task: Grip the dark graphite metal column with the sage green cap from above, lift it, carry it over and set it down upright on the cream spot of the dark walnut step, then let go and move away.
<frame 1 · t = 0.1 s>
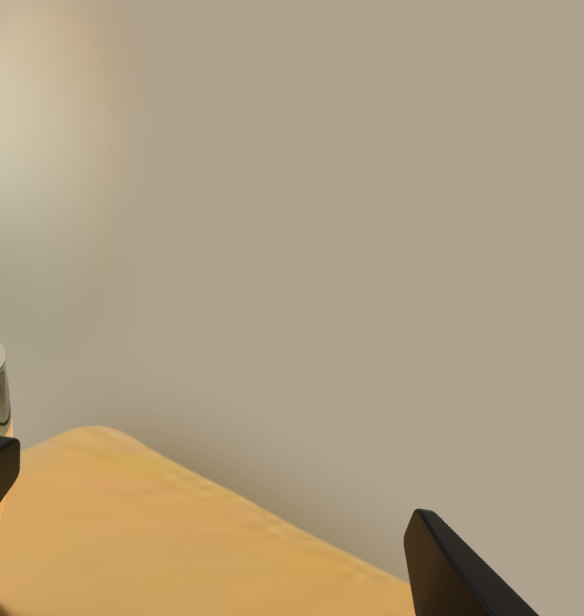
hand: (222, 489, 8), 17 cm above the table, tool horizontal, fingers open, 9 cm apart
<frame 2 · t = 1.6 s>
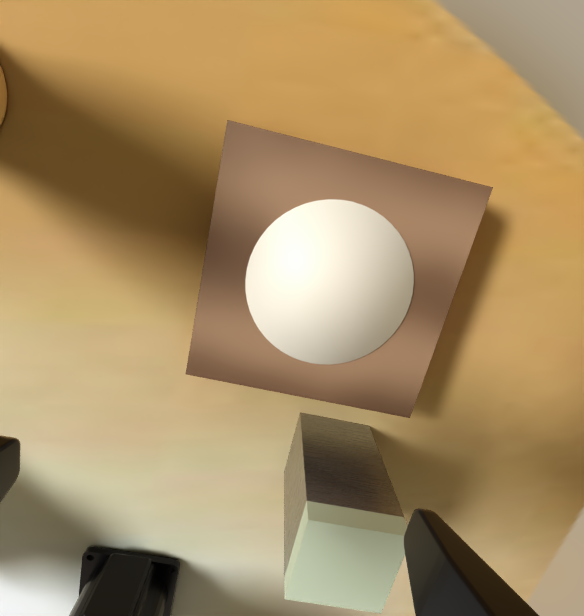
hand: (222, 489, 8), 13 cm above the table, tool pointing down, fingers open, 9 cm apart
walnut step: (323, 274, 20), on the table
metal column: (326, 449, 23), on the table
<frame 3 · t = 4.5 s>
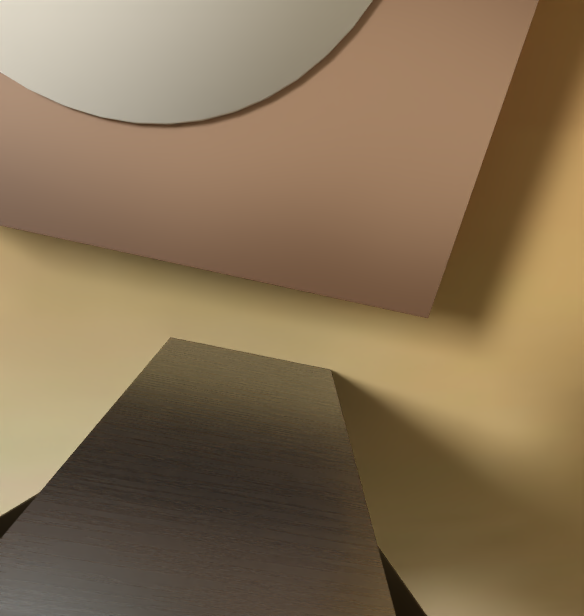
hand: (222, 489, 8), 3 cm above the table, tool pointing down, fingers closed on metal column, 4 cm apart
metal column: (237, 423, 11), on the table, touching gripper
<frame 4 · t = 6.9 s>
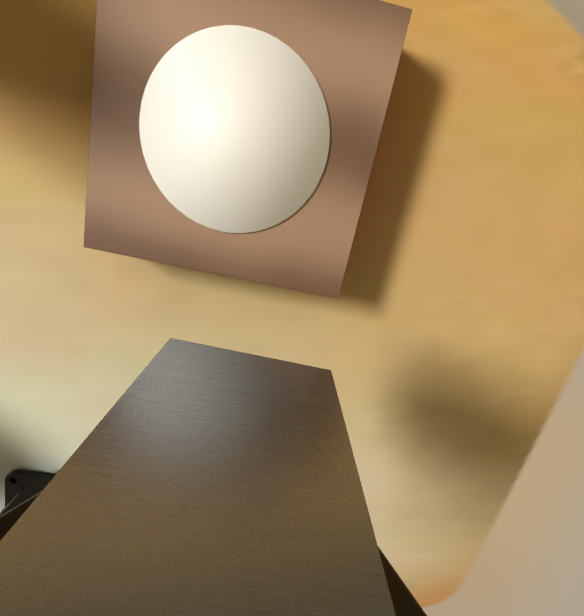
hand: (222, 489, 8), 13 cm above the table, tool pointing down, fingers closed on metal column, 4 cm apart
walnut step: (243, 147, 18), on the table
metal column: (237, 423, 11), point 11 cm above the table, touching gripper
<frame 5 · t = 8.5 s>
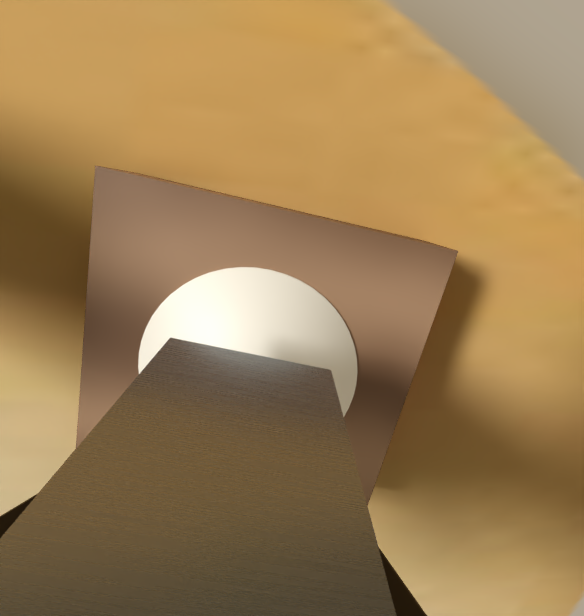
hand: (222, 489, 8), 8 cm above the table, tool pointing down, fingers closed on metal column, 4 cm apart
walnut step: (255, 343, 16), on the table
metal column: (237, 423, 11), point 6 cm above the table, touching gripper
when the fingers open (6 cm above the table, at t = 9.6 s): metal column stays where it is, resting on walnut step.
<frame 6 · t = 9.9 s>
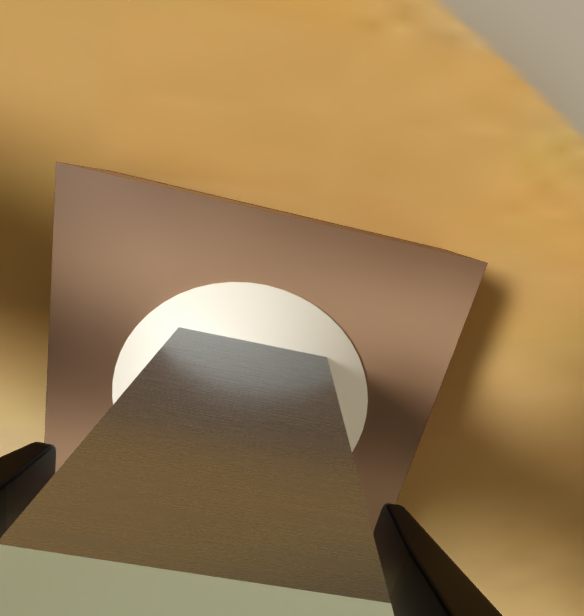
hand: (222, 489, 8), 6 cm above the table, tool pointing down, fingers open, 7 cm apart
walnut step: (250, 363, 14), on the table
metal column: (240, 407, 11), point 3 cm above the table, touching walnut step
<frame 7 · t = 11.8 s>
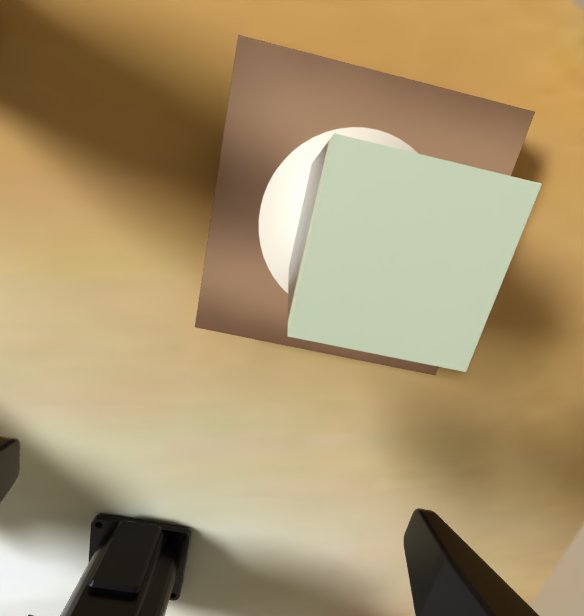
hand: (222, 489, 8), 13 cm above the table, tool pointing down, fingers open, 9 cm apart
walnut step: (341, 223, 19), on the table
metal column: (350, 229, 16), point 3 cm above the table, touching walnut step
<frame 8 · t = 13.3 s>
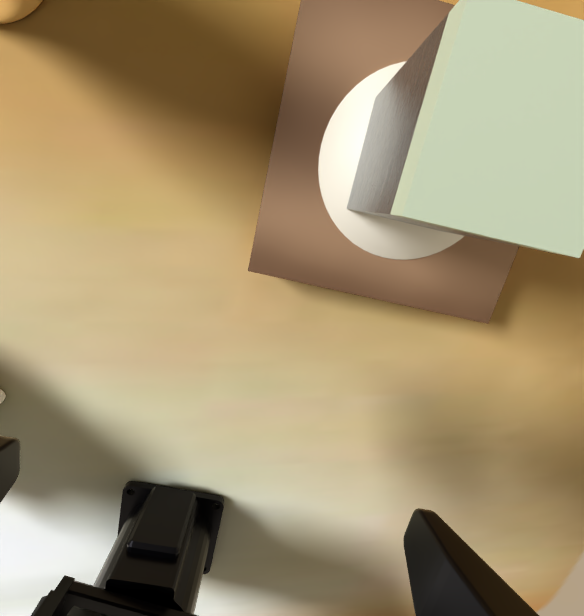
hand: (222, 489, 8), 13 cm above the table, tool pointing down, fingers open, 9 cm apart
walnut step: (391, 172, 19), on the table
metal column: (410, 167, 16), point 3 cm above the table, touching walnut step
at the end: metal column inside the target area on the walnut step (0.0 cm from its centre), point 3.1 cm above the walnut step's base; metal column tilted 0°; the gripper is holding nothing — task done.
